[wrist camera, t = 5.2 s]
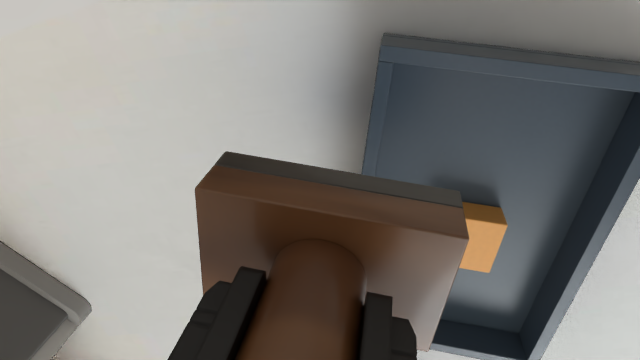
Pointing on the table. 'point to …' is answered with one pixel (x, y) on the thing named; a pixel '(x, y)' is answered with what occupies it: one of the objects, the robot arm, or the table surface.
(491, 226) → the orange squat block
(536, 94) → the tray
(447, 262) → the rubber stamp
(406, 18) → the table surface
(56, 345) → the alarm clock
